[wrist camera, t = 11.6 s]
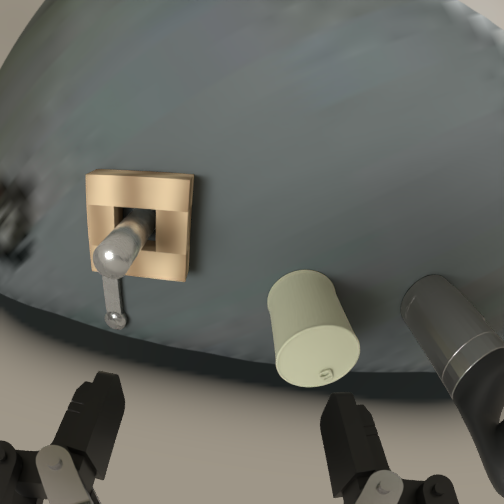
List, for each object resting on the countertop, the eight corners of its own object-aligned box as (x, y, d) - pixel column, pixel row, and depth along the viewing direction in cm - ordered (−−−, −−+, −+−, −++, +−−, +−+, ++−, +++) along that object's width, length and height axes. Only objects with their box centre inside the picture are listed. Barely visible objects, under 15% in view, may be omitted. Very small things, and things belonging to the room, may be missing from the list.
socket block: (194, 174, 34) (190, 180, 32) (188, 269, 39) (185, 281, 37) (96, 169, 33) (85, 174, 31) (100, 260, 38) (92, 270, 36)
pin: (157, 207, 36) (127, 245, 26) (156, 235, 37) (129, 281, 27) (128, 205, 35) (91, 241, 26) (129, 233, 37) (94, 276, 27)
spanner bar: (100, 259, 38) (97, 263, 37) (122, 262, 39) (119, 265, 38) (108, 323, 43) (106, 327, 42) (128, 326, 43) (126, 331, 42)
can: (283, 335, 44) (294, 400, 33) (255, 287, 41) (260, 351, 30) (343, 310, 43) (369, 370, 32) (321, 257, 39) (349, 314, 28)
